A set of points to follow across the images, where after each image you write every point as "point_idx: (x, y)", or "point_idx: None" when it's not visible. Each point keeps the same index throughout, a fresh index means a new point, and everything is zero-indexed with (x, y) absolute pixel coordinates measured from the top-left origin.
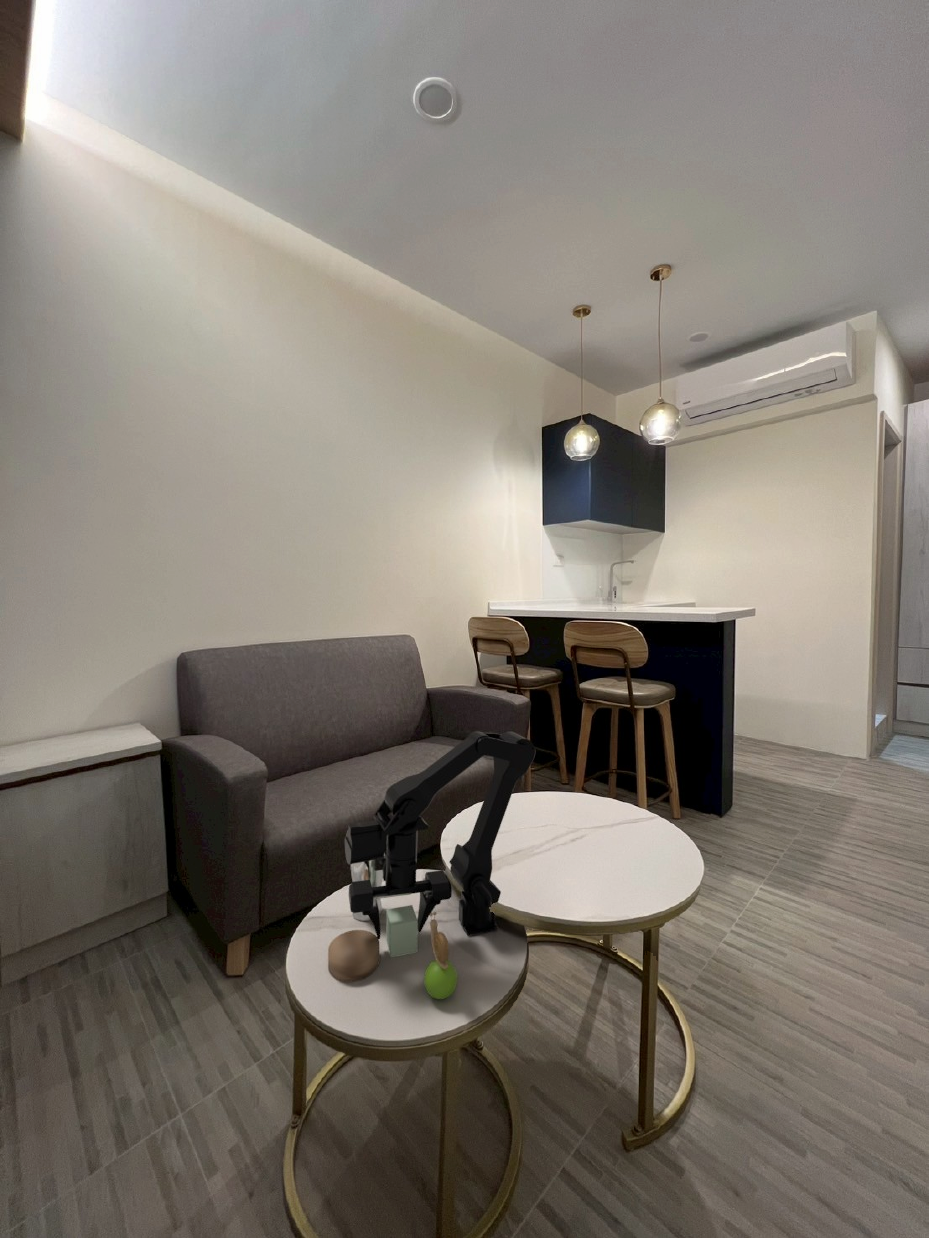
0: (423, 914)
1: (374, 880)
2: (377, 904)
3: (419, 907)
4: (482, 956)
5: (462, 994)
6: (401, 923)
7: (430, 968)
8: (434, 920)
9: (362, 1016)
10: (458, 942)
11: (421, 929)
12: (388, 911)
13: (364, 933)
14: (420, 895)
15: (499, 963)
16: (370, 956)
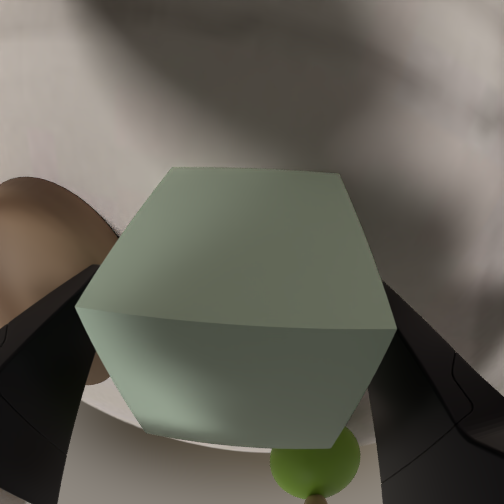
0: (380, 463)
1: None
2: (14, 495)
3: (422, 395)
4: (488, 356)
5: (361, 425)
6: (216, 443)
7: (284, 489)
8: None
9: (125, 405)
10: (488, 295)
11: None
12: (100, 338)
13: (24, 257)
14: (477, 467)
15: (494, 377)
16: (94, 379)
